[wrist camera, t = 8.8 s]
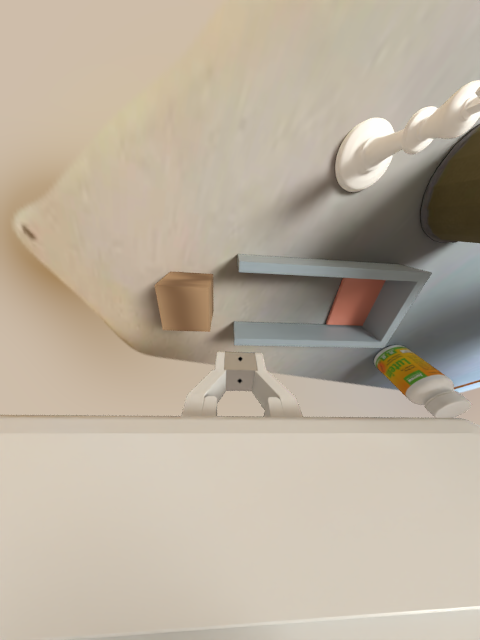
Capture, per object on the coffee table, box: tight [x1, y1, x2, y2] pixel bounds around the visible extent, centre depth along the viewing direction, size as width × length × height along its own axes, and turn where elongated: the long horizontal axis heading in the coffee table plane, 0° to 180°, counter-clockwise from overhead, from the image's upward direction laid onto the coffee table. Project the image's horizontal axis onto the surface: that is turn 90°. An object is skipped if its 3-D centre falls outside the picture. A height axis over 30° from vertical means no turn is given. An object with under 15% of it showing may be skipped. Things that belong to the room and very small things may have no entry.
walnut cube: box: [155, 272, 213, 332], centre depth 19 cm, size 5×5×5 cm
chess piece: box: [335, 81, 480, 192], centre depth 11 cm, size 5×5×10 cm
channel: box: [234, 254, 432, 348], centre depth 21 cm, size 20×10×4 cm, turn 86°
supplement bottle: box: [374, 345, 472, 418], centre depth 25 cm, size 5×5×10 cm
